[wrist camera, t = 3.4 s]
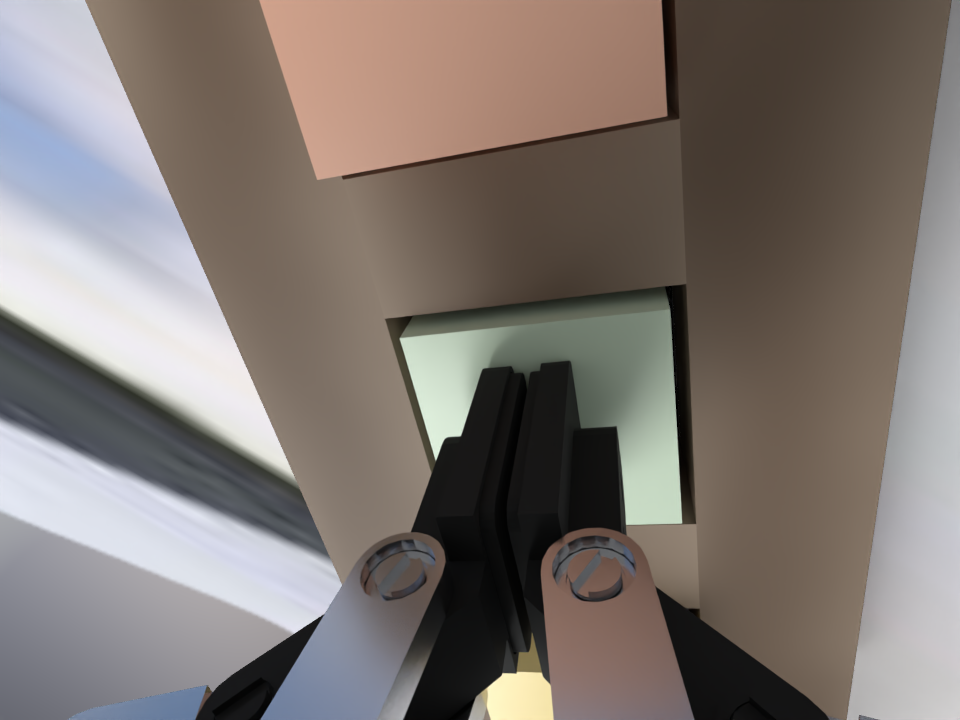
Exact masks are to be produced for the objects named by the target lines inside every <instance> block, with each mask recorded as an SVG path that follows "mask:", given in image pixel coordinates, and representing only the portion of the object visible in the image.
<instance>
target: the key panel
mask: <svg viewBox="0 0 960 720" xmlns="http://www.w3.org/2000/svg"><path fill="white" fill-rule="evenodd" d="M85 1H86V3H87V6H88V8H89V10H90V12H91V15H92V17H93V19H94V21H95V24H96V26H97V28H98V31H99V33H100V35H101V37H102V40H103V42H104V44H105V46H106V49H107V51H108V53H109V56H110V58H111V60H112V62H113V65H114V67H115V69H116V71H117V74H118V76H119V78H120V81H121V83H122V85H123V87H124V90H125V92H126V94H127V96H128V99H129V101H130V103H131V106H132V108H133V110H134V112H135V115H136V117H137V119H138V121H139V124H140V126H141V128H142V131H143V133H144V135H145V137H146V140H147V142H148V144H149V146H150V149H151V151H152V153H153V156H154V158H155V160H156V162H157V165H158V167H159V169H160V172H161V174H162V176H163V178H164V181H165V183H166V185H167V187H168V190H169V192H170V194H171V197H172V199H173V201H174V203H175V206H176V208H177V210H178V212H179V215H180V217H181V219H182V222H183V224H184V226H185V228H186V231H187V233H188V235H189V237H190V240H191V242H192V244H193V247H194V249H195V251H196V253H197V256H198V258H199V260H200V262H201V265H202V267H203V269H204V272H205V274H206V276H207V278H208V281H209V283H210V285H211V287H212V290H213V292H214V294H215V297H216V299H217V301H218V303H219V306H220V308H221V310H222V312H223V315H224V317H225V319H226V322H227V324H228V326H229V328H230V331H231V333H232V335H233V337H234V340H235V342H236V344H237V347H238V349H239V351H240V353H241V356H242V358H243V360H244V362H245V365H246V367H247V369H248V372H249V374H250V376H251V378H252V381H253V383H254V385H255V387H256V390H257V392H258V394H259V397H260V399H261V401H262V403H263V406H264V408H265V410H266V413H267V415H268V417H269V419H270V422H271V424H272V426H273V428H274V431H275V433H276V435H277V438H278V440H279V442H280V444H281V447H282V449H283V451H284V453H285V456H286V458H287V460H288V463H289V465H290V467H291V469H292V472H293V474H294V476H295V478H296V481H297V483H298V485H299V488H300V490H301V492H302V494H303V497H304V499H305V501H306V503H307V506H308V508H309V510H310V513H311V515H312V517H313V519H314V522H315V524H316V526H317V528H318V531H319V533H320V535H321V538H322V540H323V542H324V544H325V547H326V549H327V551H328V553H329V556H330V558H331V560H332V563H333V565H334V567H335V569H336V572H337V574H338V576H339V578H340V581H341V583H342V585H343V583H344V582H345V580H346V578H347V577H348V575H349V573H350V572H351V570H352V569H353V567H354V565H355V564H356V562H357V561H358V560H359V558H360V557H361V556H362V555H363V553H364V552H365V551H367V550H368V549H369V548H370V547H372V546H373V545H374V544H375V543H377V542H379V541H381V540H383V539H385V538H387V537H389V536H392V535H396V534H400V533H405V532H411V530H412V527H413V525H414V522H415V519H416V516H417V513H418V510H419V508H420V505H421V502H422V499H423V496H424V494H425V491H426V488H427V485H428V482H429V479H430V477H431V474H432V471H433V468H434V465H435V463H436V460H435V457H434V453H433V450H432V446H431V443H430V440H429V436H428V433H427V429H426V426H425V423H424V419H423V416H422V412H421V409H420V406H419V402H418V399H417V395H416V392H415V389H414V385H413V382H412V379H411V375H410V372H409V368H408V365H407V362H406V358H405V355H404V351H403V348H402V345H401V341H400V337H401V335H402V333H403V332H404V330H405V329H406V327H407V325H408V324H409V322H410V320H411V319H412V317H413V316H414V315H422V314H431V313H439V312H448V311H456V310H465V309H474V308H482V307H491V306H500V305H508V304H517V303H526V302H534V301H543V300H552V299H560V298H569V297H578V296H586V295H595V294H603V293H612V292H621V291H629V290H638V289H647V288H655V287H664V286H672V305H673V323H674V342H675V360H676V379H677V398H678V416H679V435H680V437H677V439H678V457H679V475H680V493H681V511H682V524H644V525H626V532H627V536H628V537H630V538H631V539H632V540H633V541H634V542H636V543H637V544H638V545H639V546H640V547H641V548H642V550H643V552H644V554H645V556H646V558H647V560H648V564H649V567H650V570H651V574H652V577H653V581H654V584H655V586H656V587H657V588H659V589H660V590H661V591H663V592H664V593H665V594H667V595H668V596H670V597H671V598H672V599H674V600H675V601H676V602H678V603H679V604H681V605H682V606H683V607H685V608H689V611H690V612H692V613H693V614H694V615H696V616H697V617H698V618H700V619H701V620H702V621H704V622H705V623H707V624H708V625H709V626H711V627H712V628H713V629H715V630H716V631H718V632H719V633H720V634H722V635H723V636H724V637H726V638H727V639H728V640H730V641H731V642H733V643H734V644H735V645H737V646H738V647H739V648H741V649H742V650H744V651H745V652H746V653H748V654H749V655H750V656H752V657H753V658H755V659H756V660H757V661H759V662H760V663H761V664H763V665H764V666H765V667H767V668H768V669H770V670H771V671H772V672H774V673H775V674H776V675H778V676H779V677H781V678H782V679H783V680H785V681H786V682H787V683H789V684H790V685H792V686H793V687H794V688H796V689H797V690H798V691H800V692H801V693H802V694H804V695H805V696H807V697H808V698H809V699H810V700H811V701H812V702H813V703H814V704H815V705H817V706H818V707H819V708H820V709H821V710H822V711H823V712H824V713H825V714H826V715H827V716H830V717H834V718H838V719H842V720H846V719H847V712H848V705H849V698H850V692H851V685H852V678H853V671H854V664H855V657H856V651H857V644H858V637H859V630H860V623H861V616H862V610H863V603H864V596H865V589H866V582H867V575H868V568H869V562H870V555H871V548H872V541H873V534H874V527H875V521H876V514H877V507H878V500H879V493H880V486H881V480H882V473H883V466H884V459H885V452H886V445H887V438H888V432H889V425H890V418H891V411H892V404H893V397H894V391H895V384H896V377H897V370H898V363H899V356H900V350H901V343H902V336H903V329H904V322H905V315H906V309H907V302H908V295H909V288H910V281H911V274H912V267H913V261H914V254H915V247H916V240H917V233H918V226H919V220H920V213H921V206H922V199H923V192H924V185H925V179H926V172H927V165H928V158H929V151H930V144H931V137H932V131H933V124H934V117H935V110H936V103H937V96H938V90H939V83H940V76H941V69H942V62H943V55H944V49H945V42H946V35H947V28H948V21H949V14H950V8H951V1H952V0H662V19H663V39H664V59H665V79H666V99H667V116H666V117H661V118H655V119H650V120H644V121H639V122H633V123H628V124H622V125H617V126H611V127H606V128H600V129H595V130H589V131H584V132H578V133H573V134H567V135H562V136H556V137H551V138H545V139H540V140H534V141H529V142H523V143H518V144H512V145H507V146H502V147H496V148H491V149H485V150H480V151H474V152H469V153H463V154H458V155H452V156H447V157H441V158H436V159H430V160H425V161H419V162H414V163H408V164H403V165H397V166H392V167H386V168H381V169H375V170H370V171H364V172H359V173H353V174H348V175H342V176H337V177H331V178H326V179H321V180H317V178H316V175H315V172H314V169H313V166H312V163H311V159H310V156H309V153H308V150H307V147H306V144H305V141H304V138H303V135H302V132H301V128H300V125H299V122H298V119H297V116H296V113H295V110H294V107H293V104H292V100H291V97H290V94H289V91H288V88H287V85H286V82H285V79H284V76H283V73H282V69H281V66H280V63H279V60H278V57H277V54H276V51H275V48H274V45H273V41H272V38H271V35H270V32H269V29H268V26H267V23H266V20H265V17H264V14H263V10H262V7H261V4H260V1H259V0H85ZM483 720H491V718H490V715H489V712H488V709H487V708H486V711H485V715H484V718H483Z"/></svg>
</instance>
